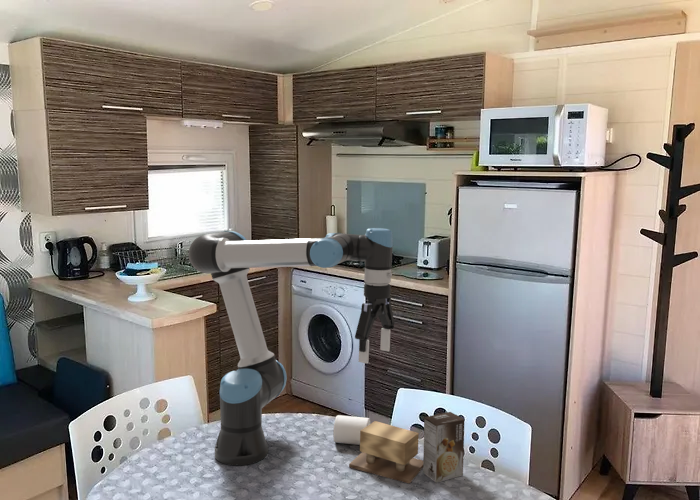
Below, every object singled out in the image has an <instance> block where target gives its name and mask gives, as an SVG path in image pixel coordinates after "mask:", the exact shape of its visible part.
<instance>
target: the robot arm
mask: <svg viewBox="0 0 700 500" xmlns="http://www.w3.org/2000/svg"><path fill="white" fill-rule="evenodd" d="M365 231H366V232H365V234H354V233H341V232H329V233H327V234H326V235H325V237H314V238H289V239H288V238H285V239H259V240H258V239H255V240H248V239H247V238H246V237H245V236H244V235H243V234H241V233H240V232H238V231H233V230H224V231H217V232H212V233H206V234H202V235H200V236H198V237H196V238H195V239H194V240H193V241H192V242H191V244H190V246H189V249H188V258H189V262H190V264H191V265H192V267H193V268H194V269H195V270H196V271H198V272H200V273H203V274H206V275H207V274H210V275H211V278H212V281H214V282H215V283H218V284H219V288H220V291H221V295H222V298H223V302H224V305H225V308H226V312H227V316H228V319H229V323H230V327H231V330H232V333H233V335H234V337H233V338H234V340H235V343H236V347H237V350H238V353H239V357H240V359H239V361H238V363H237V368H238V369H236V370H232V371H229V372H227V373H226V374H225V375H223V377H222V378H221V381H220V383H219V384H220V387H219V403H220V404H219V407H220V408H219V409H220V410H219V411H220V429H219V434H218V436H217V438H216V442H215V446H214V457H215V459H216V460H217V461H218V462H219V463H221V464H224V465H228V466H246V465H247V466H248V465H250V464H255V463H257V462H260V461H262V460H263V459H265V458H266V456H267V455H268V452H269V447H268V446H269V445H268V441H267V439H266V435H265V432H264V430H263V426H262V424H263V423H262V422H263V421H262V419H263V418H262V417H263V416H262V413H263V412H262V409H263V408H264V407H265V406H267V405H268V404H269V403H271V401H273V400H274V399H276V398H277V397H279V395H280V394H281V393H282V392H283V390H284V389H285V387H286V385H287V380H288V379H287V378H288V377H287V375H288V374H287V372H286V368H285V367H284V365H283V364H282V362H280V361H278V360H277V359H276V356H275V353H274V352H272V351H271V350H269V349H268V347H267V342H266V338H265V335H264V333H263V328H262V325H261V321H260V317H259V315H258V311H257V308H256V305H255V302H254V298H253V294H252V291H251V287H250V284H249V280H248V277H247V275H248V273H249V271H250V268H291V267H296V268H297V267H318V268H322V269H327V268H333V267H335V266H337V265H338V264H341V263H344V262H346V261H353V262H354V261H355V262H364V276H363V277H364V278H363V281H364V282H365V283H364V284H363V296H364V297H365V298H366V299H367V303H365V302H364V303H362V304H361V312H360V315H359V320H358V324H357V327H356V331H355V334H354V335H355V336H354V339H356V340H358V341H359V342H358V363H363V364H369V356H370V355H369V354H370V339H369V336H370V335H371V334H370V333H371V331H372V328H373V325H374V322H375V321H376V320H377V319H379V321H380V323H381V326H382V328H381V329H380V347H379V348H380V351H384V352H390V349H391V348H390V347H391V330H394V329H395V318H394V313H393V308H392V299H391V287H392V286H391V284H390V283H391V282H392V276H393V273H392V261H393V248H394V245H393V231H392V230H391V229H389V228H382V227H369V228H367V229H366V230H365Z"/></svg>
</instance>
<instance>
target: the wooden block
mask: <svg viewBox="0 0 700 500" xmlns="http://www.w3.org/2000/svg"><path fill="white" fill-rule="evenodd" d="M419 434H420V433H419V432H416V431H412V430H409V429H406V428H401V427H398V426H395V425H391V424H387V423H384V422H380V421H376V420H374V421H373V422H370V425H368V426H367V427H365V428H364V429H362V430H360V445H359V452H360V453H362V452H364V453H367V454H370V455H374V456H377V457H380V458H383V459H386V460H390V461H393V462H396V463H399V464H402V465H405V464H406V463H408V462H409V461H410V460H411V459H412V458H416V456H417V455H418V454H419Z"/></svg>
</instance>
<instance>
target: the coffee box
mask: <svg viewBox="0 0 700 500" xmlns="http://www.w3.org/2000/svg"><path fill="white" fill-rule="evenodd" d="M423 423H424V424H423V458H422V460H423V468H422V470H423V471H422V473H423V474H424V475H425V476H427V477H428V478H429V479H430V480H432V481H433V482H434V483H436V484H437V483H440V482H444V481H448V480H451V479H456V478H459V477H462V476H464V454H465V453H464V448H465V418H463V417H460V416H459V415H457V413H456V414H455V413H454V412H452V411H447V412H443V413H438V414H433V415H428V416H425V417H423Z"/></svg>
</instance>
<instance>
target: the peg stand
mask: <svg viewBox="0 0 700 500" xmlns="http://www.w3.org/2000/svg"><path fill="white" fill-rule="evenodd" d="M348 468H350V469H354V470H358V471H362V472H366V473H369V474H373V475H377V476H381V477H383V478H387V479H391V480H395V481H398V482H402V483H406V484H409V485H410V484H411V483H412V482H413V481H414V479H415V478H416V477H417V476H418V475H419V473H420V472H421V470H423V459H420V458H419V459H418V458H416V457H413V458H412V459H411V460H410V461H409V462H408V463H406V464H405V465H402V464H399V463H396V462H393V461H390V460H386V459H383V458H380V457H377V456H374V455H370V454H367V453H364V452H360V453H359V454H358V455H357V456H356V457H355V458H354V459H353V460H352V461H350V462H349V464H348Z"/></svg>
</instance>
